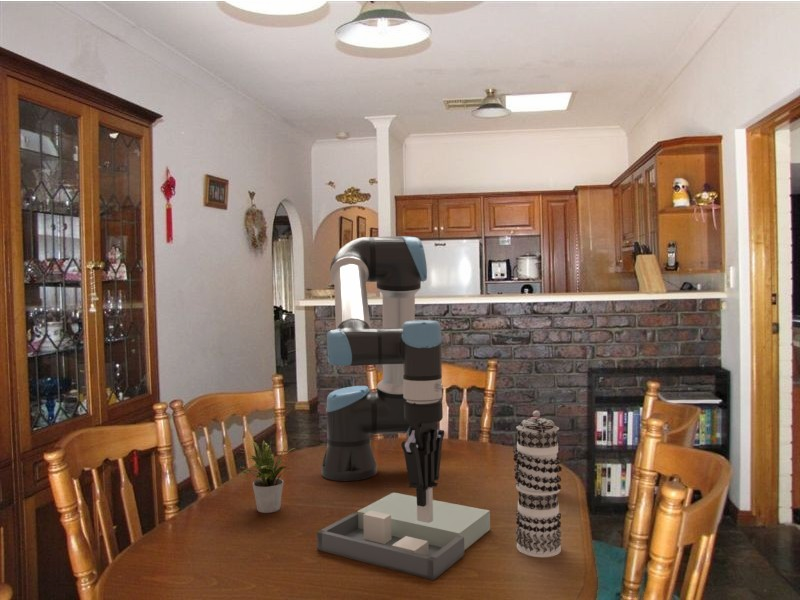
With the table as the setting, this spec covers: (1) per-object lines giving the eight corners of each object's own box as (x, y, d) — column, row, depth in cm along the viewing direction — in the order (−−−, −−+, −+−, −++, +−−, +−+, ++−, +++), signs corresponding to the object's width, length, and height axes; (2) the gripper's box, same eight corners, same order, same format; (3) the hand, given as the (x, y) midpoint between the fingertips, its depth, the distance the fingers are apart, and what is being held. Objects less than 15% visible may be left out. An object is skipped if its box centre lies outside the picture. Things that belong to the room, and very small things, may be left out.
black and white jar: (511, 538, 130) (509, 415, 129) (557, 538, 129) (556, 414, 129) (518, 558, 121) (516, 425, 120) (568, 558, 120) (566, 424, 120)
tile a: (370, 534, 132) (363, 539, 130) (370, 510, 132) (363, 514, 130) (391, 539, 129) (384, 543, 127) (390, 514, 129) (384, 518, 127)
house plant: (220, 509, 150) (218, 439, 150) (269, 494, 160) (268, 428, 160) (256, 524, 140) (254, 449, 140) (306, 507, 150) (304, 437, 150)
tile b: (405, 536, 125) (406, 548, 125) (391, 545, 120) (392, 558, 120) (428, 541, 122) (428, 554, 122) (414, 550, 118) (415, 564, 118)
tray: (317, 549, 126) (317, 532, 126) (353, 529, 136) (353, 512, 136) (433, 580, 112) (433, 560, 112) (464, 555, 122) (464, 536, 122)
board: (357, 530, 136) (357, 511, 136) (393, 509, 148) (393, 492, 148) (459, 554, 123) (459, 533, 123) (490, 529, 135) (489, 510, 135)
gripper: (422, 407, 118) (425, 535, 118) (455, 396, 129) (457, 513, 129) (388, 404, 122) (390, 528, 122) (423, 393, 133) (425, 507, 133)
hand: (425, 520), depth 126 cm, fingers closed
